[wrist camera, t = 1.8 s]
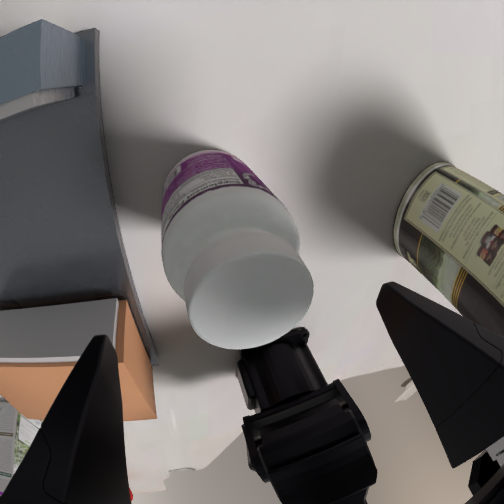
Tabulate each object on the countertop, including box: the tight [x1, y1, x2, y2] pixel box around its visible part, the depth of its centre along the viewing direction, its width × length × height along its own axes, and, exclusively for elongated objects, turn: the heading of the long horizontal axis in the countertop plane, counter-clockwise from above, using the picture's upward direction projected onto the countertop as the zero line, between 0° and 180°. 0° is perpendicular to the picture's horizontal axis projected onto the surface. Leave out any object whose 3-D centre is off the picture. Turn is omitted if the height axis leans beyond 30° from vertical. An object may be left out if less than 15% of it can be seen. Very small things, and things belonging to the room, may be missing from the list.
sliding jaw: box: [0, 298, 157, 421], centre depth 16 cm, size 8×12×5 cm, turn 89°
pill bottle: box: [162, 150, 314, 349], centre depth 12 cm, size 5×5×10 cm
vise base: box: [0, 19, 159, 366], centre depth 12 cm, size 24×13×6 cm, turn 179°
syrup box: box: [0, 402, 43, 496], centre depth 18 cm, size 6×6×14 cm
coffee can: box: [394, 162, 504, 337], centre depth 17 cm, size 10×10×14 cm
